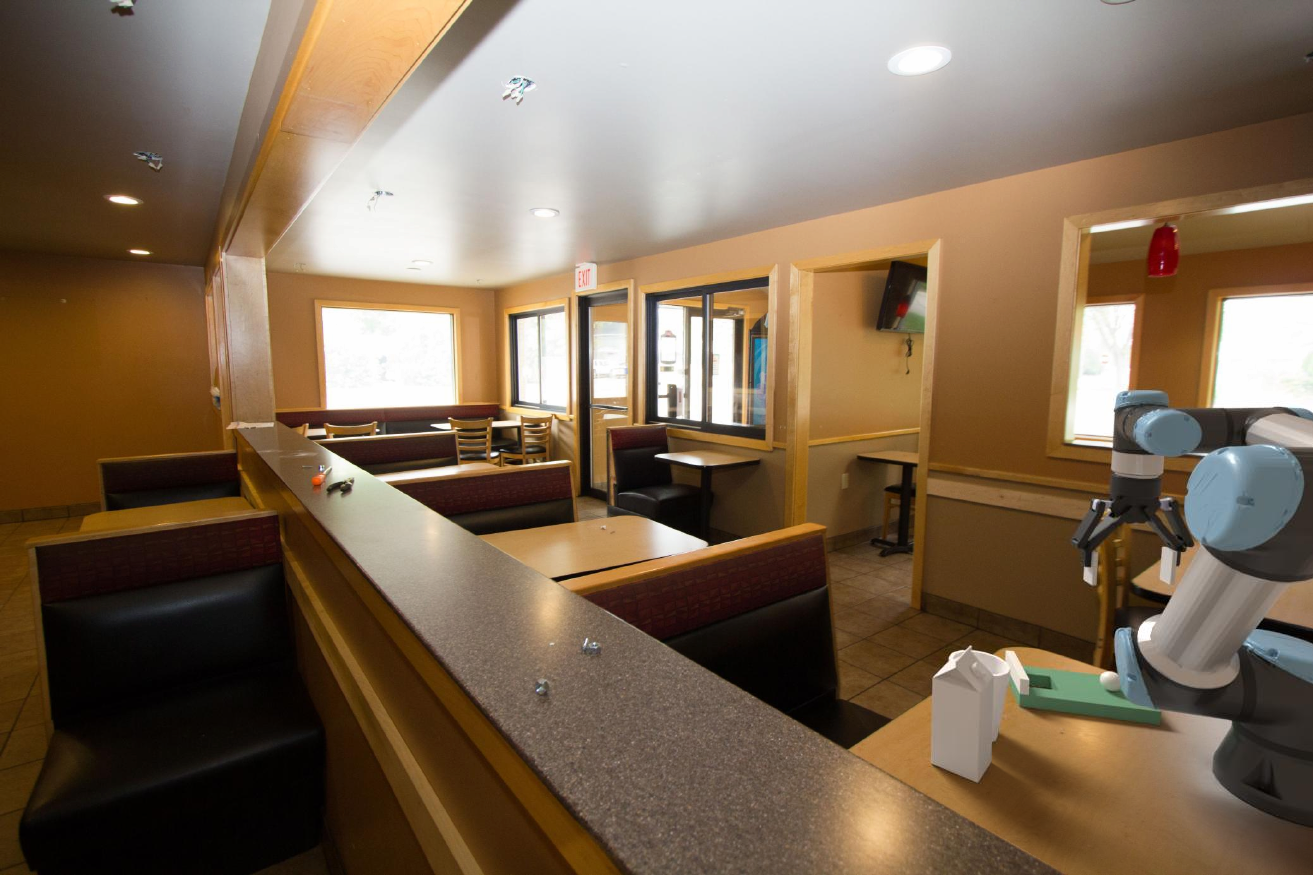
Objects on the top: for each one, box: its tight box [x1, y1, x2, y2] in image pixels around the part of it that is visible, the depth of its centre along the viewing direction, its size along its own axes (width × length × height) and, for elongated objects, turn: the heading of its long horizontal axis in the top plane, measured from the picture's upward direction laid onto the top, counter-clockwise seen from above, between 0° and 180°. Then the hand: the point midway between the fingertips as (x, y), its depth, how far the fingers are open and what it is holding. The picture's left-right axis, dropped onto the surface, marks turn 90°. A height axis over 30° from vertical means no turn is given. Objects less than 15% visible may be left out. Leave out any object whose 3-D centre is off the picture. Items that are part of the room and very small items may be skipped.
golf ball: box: [1100, 671, 1122, 691], centre depth 113 cm, size 4×4×4 cm
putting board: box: [1004, 650, 1162, 726], centre depth 115 cm, size 12×22×6 cm, turn 71°
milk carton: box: [930, 645, 994, 784], centre depth 96 cm, size 7×7×19 cm
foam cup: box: [948, 649, 1010, 743], centre depth 105 cm, size 10×9×13 cm
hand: (1128, 582), depth 113 cm, fingers open, 13 cm apart
